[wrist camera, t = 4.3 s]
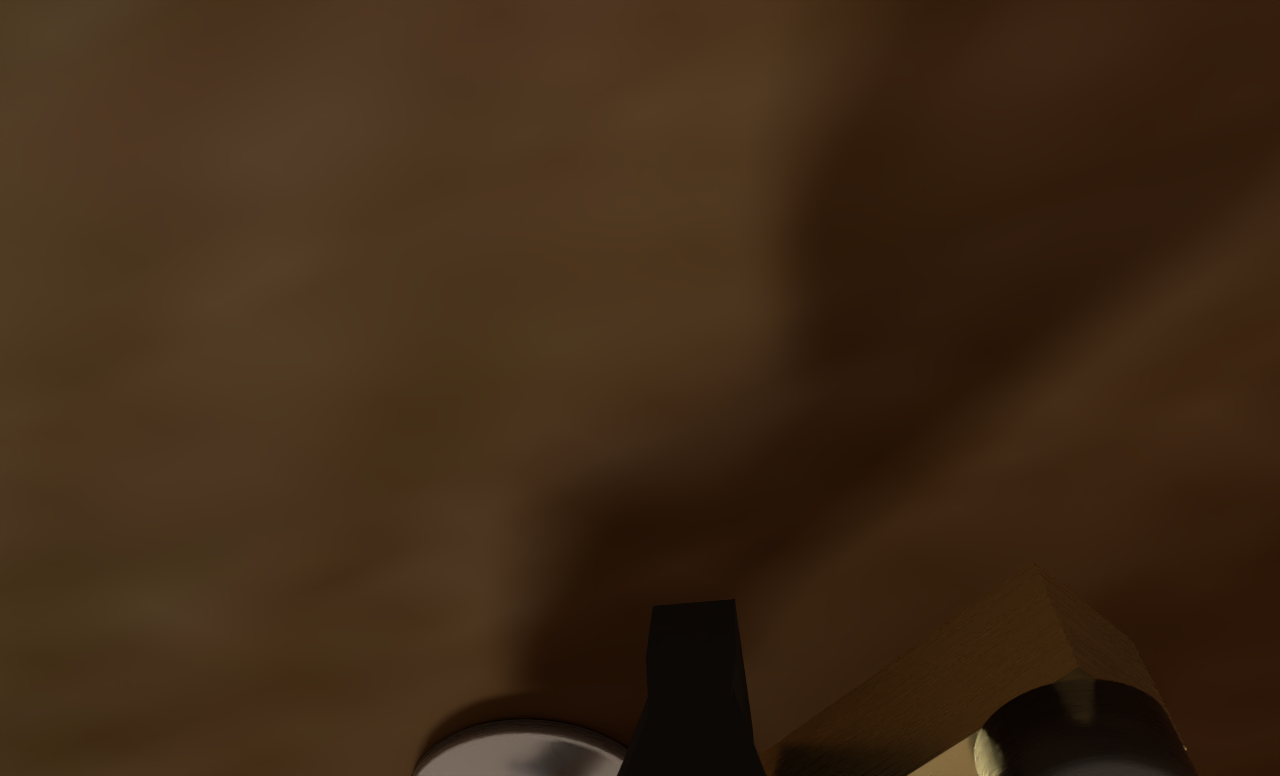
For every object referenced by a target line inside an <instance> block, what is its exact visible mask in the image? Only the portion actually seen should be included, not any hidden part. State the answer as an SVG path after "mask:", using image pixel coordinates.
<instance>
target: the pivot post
mask: <svg viewBox="0 0 1280 776" xmlns="http://www.w3.org/2000/svg"><path fill="white" fill-rule="evenodd" d="M627 750H628V749H627V748H626V747H624V746H622V745H621V744H619V743H617V742H616V741H614V740H612V739H610V738H607V737H605V736H603V735H601V734H599V733H596V732H593V731H590V730H588V729H585V728H581V727H578V726H574V725H570V724H566V723H560V722H554V721H547V720H533V719H515V720H503V721H494V722H489V723H485V724H480V725H476V726H473V727H470V728H467V729H464V730H461V731H459V732H457V733H455V734H453V735H451V736H448V737H447V738H445V739H444V740H442V741H441V742H439V743H437V744H436V745H435V746H434V747H433V748H431V749H430V750H429V751H428V752H427V753H426V754H425V755H424V756H423V758H422V759H421V760H420V761H419V763H418V764H417V766H416V768H415V770H414V772H413V774H412V776H617V774H618V772H619V769H620V767H621V765H622V762H623V760H624V757H625V755H626V752H627Z"/></svg>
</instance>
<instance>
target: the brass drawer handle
mask: <svg viewBox="0 0 1280 776" xmlns="http://www.w3.org/2000/svg"><path fill="white" fill-rule="evenodd" d="M1185 750H1187V748H1186V746H1185V744H1184V742H1183V740H1182V738H1181V736H1180V734H1179V732H1178V730H1177V728H1176V726H1175V724H1174V722H1173V720H1172V718H1171V716H1170V714H1169V712H1168V710H1167V708H1166V706H1165V704H1164V702H1163V700H1162V698H1161V696H1160V694H1159V692H1158V690H1157V688H1156V686H1155V684H1154V682H1153V680H1152V678H1151V676H1150V674H1149V672H1148V670H1147V668H1146V666H1145V664H1144V663H1143V661H1142V659H1141V657H1140V655H1139V653H1138V651H1137V649H1136V647H1135V645H1134V643H1133V641H1132V640H1131V639H1130V638H1129V637H1128V636H1126V635H1125V634H1124V633H1123V632H1121V631H1120V630H1119V629H1118V628H1116V627H1115V626H1114V625H1113V624H1111V623H1110V622H1109V621H1108V620H1106V619H1105V618H1104V617H1103V616H1101V615H1100V614H1099V613H1097V612H1096V611H1095V610H1094V609H1092V608H1091V607H1090V606H1089V605H1087V604H1086V603H1085V602H1084V601H1082V600H1081V599H1080V598H1079V597H1077V596H1076V595H1075V594H1074V593H1072V592H1071V591H1070V590H1069V589H1067V588H1066V587H1065V586H1064V585H1062V584H1061V583H1060V582H1059V581H1057V580H1056V579H1055V578H1053V577H1052V576H1051V575H1050V574H1048V573H1047V572H1046V571H1045V570H1043V569H1042V568H1041V567H1040V566H1038V565H1037V564H1036V563H1035V562H1033V563H1032V564H1030V565H1029V566H1027V567H1026V568H1025V569H1023V570H1022V571H1020V572H1019V573H1017V574H1016V575H1015V576H1013V577H1012V578H1010V579H1009V580H1007V581H1006V582H1005V583H1003V584H1002V585H1000V586H999V587H998V588H996V589H995V590H993V591H992V592H990V593H989V594H988V595H986V596H985V597H983V598H982V599H981V600H979V601H978V602H976V603H975V604H973V605H972V606H971V607H969V608H968V609H966V610H965V611H964V612H962V613H961V614H959V615H958V616H956V617H955V618H954V619H952V620H951V621H949V622H948V623H947V624H945V625H944V626H942V627H941V628H939V629H938V630H937V631H935V632H934V633H932V634H931V635H930V636H928V637H927V638H925V639H924V640H922V641H921V642H920V643H918V644H917V645H915V646H914V647H913V648H911V649H910V650H908V651H907V652H905V653H904V654H903V655H901V656H900V657H898V658H897V659H895V660H894V661H893V662H891V663H890V664H888V665H887V666H886V667H884V668H883V669H881V670H880V671H878V672H877V673H876V674H874V675H873V676H871V677H870V678H869V679H867V680H866V681H864V682H863V683H861V684H860V685H859V686H857V687H856V688H854V689H853V690H852V691H850V692H849V693H847V694H846V695H844V696H843V697H842V698H840V699H839V700H837V701H836V702H835V703H833V704H832V705H830V706H829V707H827V708H826V709H825V710H823V711H822V712H820V713H819V714H818V715H816V716H815V717H813V718H812V719H810V720H809V721H808V722H806V723H805V724H803V725H802V726H801V727H799V728H798V729H796V730H795V731H793V732H792V733H791V734H789V735H788V736H786V737H785V738H783V739H782V740H781V741H779V742H778V743H776V744H775V745H774V746H772V747H771V748H769V749H768V750H766V751H765V752H764V753H762V754H761V755H759V758H760V761H761V763H762V766H763V769H764V771H765V773H766V775H767V776H1198V774H1197V772H1196V770H1195V768H1194V766H1193V764H1192V762H1191V760H1190V758H1189V756H1188V754H1187V753H1186V751H1185Z"/></svg>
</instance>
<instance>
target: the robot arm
mask: <svg viewBox="0 0 1280 776" xmlns="http://www.w3.org/2000/svg"><path fill="white" fill-rule="evenodd" d="M646 661H647V685H648V698H647V701H646V704H645V707H644V709H643V712H642V714H641V717H640V719H639V722H638V724H637V727H636V730H635V732H634V735H633V737H632V740H631V742H630V745H629V747H628V750H627V752H626V755H625V757H624V760H623V762H622V765H621V767H620V769H619V772H618V774H617V776H767V775H766V773H765V771H764V769H763V766H762V763H761V761H760V758H759V756H758V753H757V751H756V748H755V746H754V741H753V729H752V720H751V713H750V706H749V699H748V691H747V684H746V677H745V670H744V663H743V656H742V648H741V641H740V634H739V627H738V620H737V612H736V605H735V599H732V600H720V601H708V602H696V603H684V604H672V605H661V606H653V612H652V618H651V625H650V631H649V639H648V648H647V656H646Z"/></svg>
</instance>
